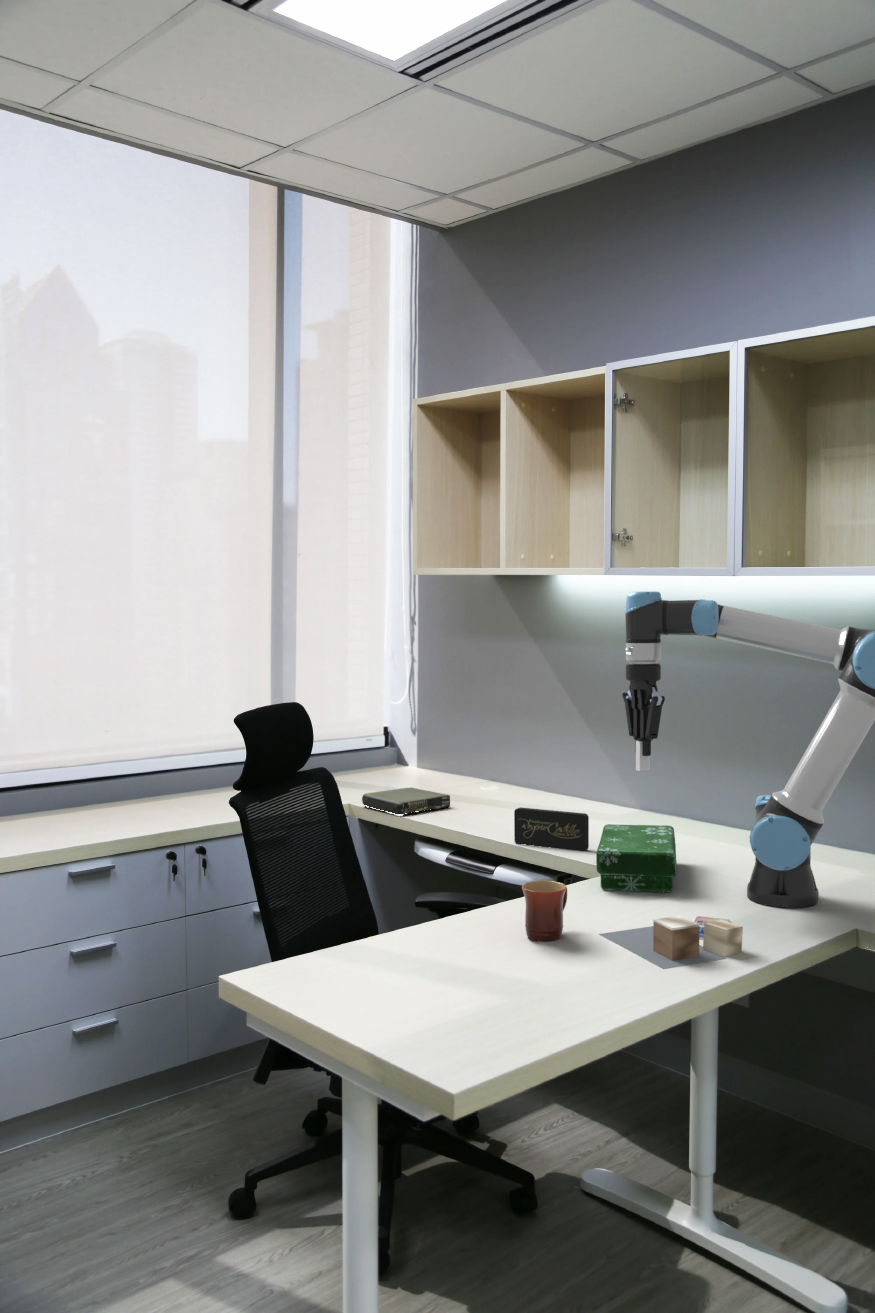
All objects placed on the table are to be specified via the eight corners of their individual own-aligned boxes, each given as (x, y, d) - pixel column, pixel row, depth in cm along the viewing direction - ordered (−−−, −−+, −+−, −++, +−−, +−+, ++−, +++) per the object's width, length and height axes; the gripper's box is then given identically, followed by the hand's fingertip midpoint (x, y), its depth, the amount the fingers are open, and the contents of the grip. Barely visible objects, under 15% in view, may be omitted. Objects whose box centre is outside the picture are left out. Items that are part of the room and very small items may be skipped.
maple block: (719, 945, 201) (721, 919, 201) (741, 952, 197) (742, 926, 197) (702, 949, 198) (704, 923, 198) (724, 956, 194) (726, 929, 194)
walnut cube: (699, 924, 194) (699, 956, 194) (680, 915, 199) (679, 946, 200) (672, 928, 192) (672, 960, 192) (653, 919, 197) (653, 951, 197)
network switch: (406, 819, 326) (405, 803, 326) (354, 810, 342) (354, 794, 342) (455, 808, 344) (455, 793, 343) (404, 800, 359) (404, 785, 359)
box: (676, 896, 237) (677, 852, 236) (595, 892, 240) (595, 849, 240) (675, 863, 267) (675, 824, 267) (603, 860, 271) (603, 821, 271)
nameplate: (514, 844, 290) (514, 808, 289) (517, 842, 291) (517, 807, 291) (586, 852, 280) (586, 815, 279) (588, 850, 281) (588, 813, 281)
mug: (550, 947, 201) (550, 894, 200) (513, 939, 206) (513, 887, 206) (583, 932, 210) (583, 881, 210) (547, 924, 216) (546, 875, 215)
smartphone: (732, 919, 216) (723, 941, 202) (732, 924, 216) (722, 946, 203) (695, 915, 219) (684, 936, 205) (695, 920, 219) (684, 941, 205)
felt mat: (658, 927, 213) (657, 925, 213) (727, 960, 193) (727, 958, 193) (598, 935, 208) (598, 934, 208) (663, 970, 188) (663, 969, 188)
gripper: (612, 661, 233) (612, 767, 234) (645, 664, 221) (645, 775, 222) (640, 660, 236) (640, 765, 237) (675, 663, 224) (675, 773, 225)
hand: (643, 770), depth 229 cm, fingers closed
